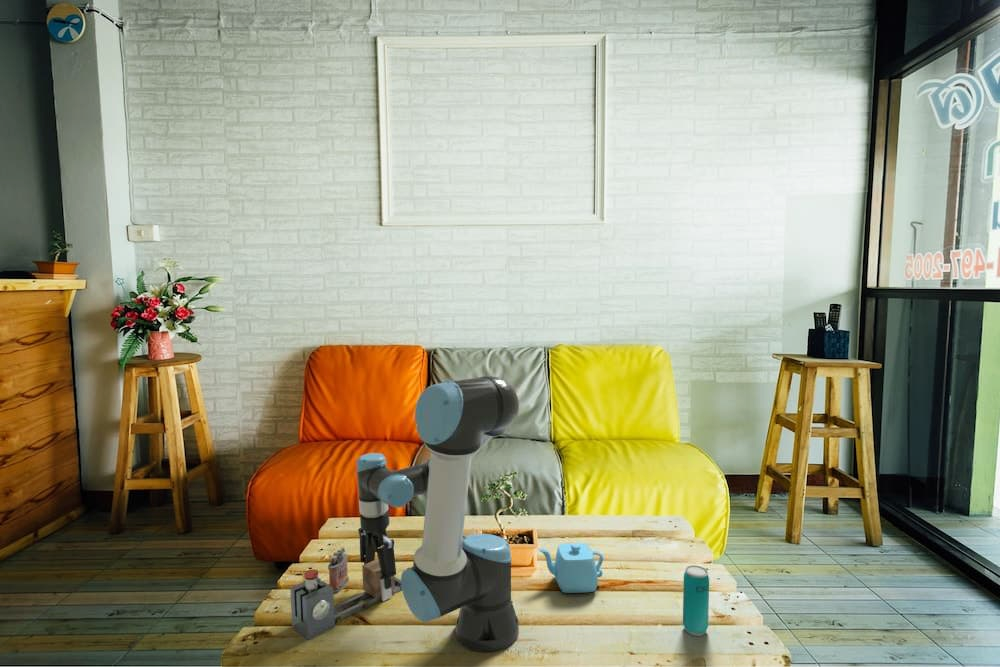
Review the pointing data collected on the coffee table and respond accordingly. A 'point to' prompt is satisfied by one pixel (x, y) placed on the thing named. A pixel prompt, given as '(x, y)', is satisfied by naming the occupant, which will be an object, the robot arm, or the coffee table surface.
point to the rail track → (359, 603)
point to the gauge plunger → (311, 581)
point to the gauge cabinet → (312, 609)
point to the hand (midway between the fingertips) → (379, 593)
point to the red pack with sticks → (338, 570)
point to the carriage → (373, 578)
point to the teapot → (575, 567)
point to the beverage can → (695, 600)
